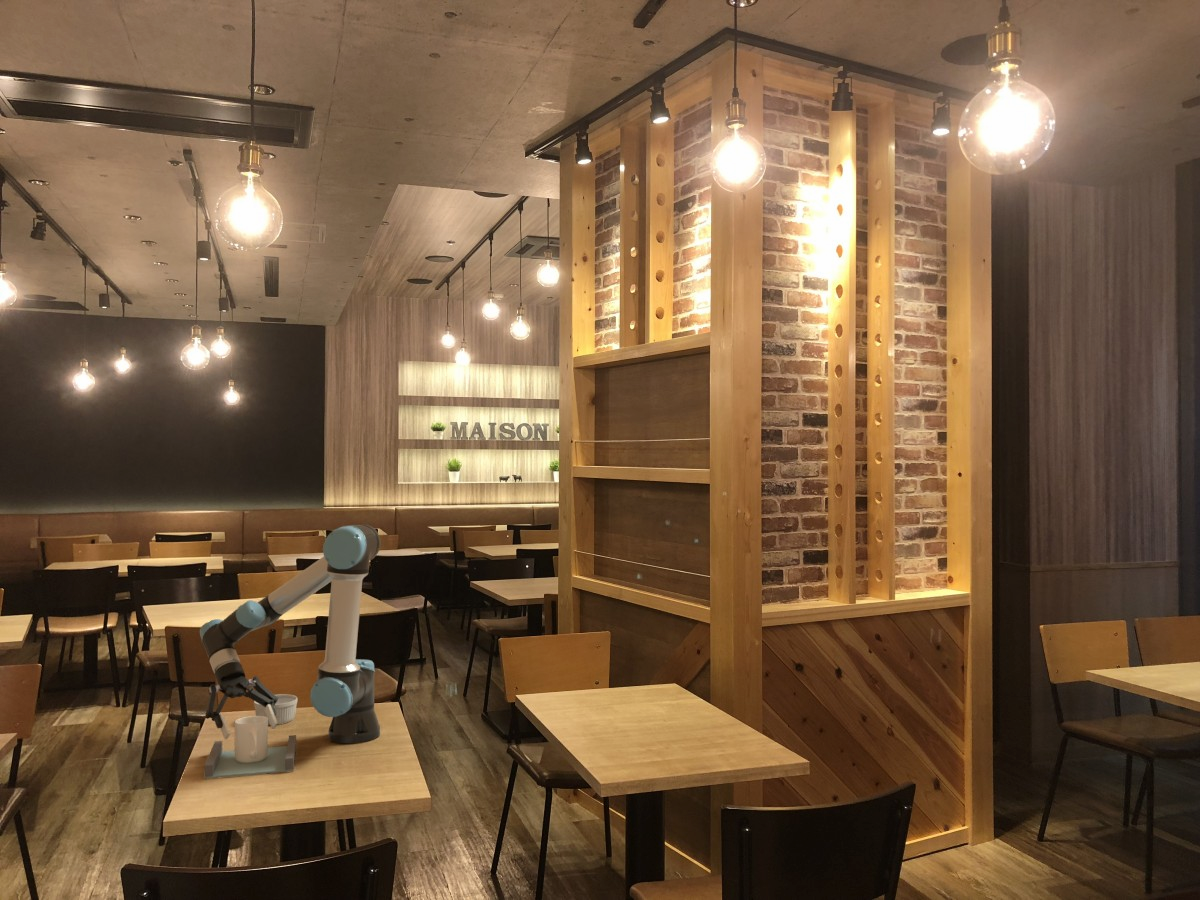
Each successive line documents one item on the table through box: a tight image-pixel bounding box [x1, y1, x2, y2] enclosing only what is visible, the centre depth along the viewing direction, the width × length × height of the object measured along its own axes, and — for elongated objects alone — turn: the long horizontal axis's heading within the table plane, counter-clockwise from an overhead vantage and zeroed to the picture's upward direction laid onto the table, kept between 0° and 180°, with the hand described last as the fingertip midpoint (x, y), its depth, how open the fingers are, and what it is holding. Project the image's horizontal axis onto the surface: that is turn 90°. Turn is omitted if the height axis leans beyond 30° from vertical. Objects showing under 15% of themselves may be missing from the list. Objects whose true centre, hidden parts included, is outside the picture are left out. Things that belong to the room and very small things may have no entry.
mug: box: [234, 715, 269, 763], centre depth 256 cm, size 9×12×11 cm
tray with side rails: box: [204, 734, 297, 780], centre depth 256 cm, size 22×22×4 cm
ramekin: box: [253, 693, 298, 726], centre depth 298 cm, size 13×13×7 cm
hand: (251, 731), depth 256 cm, fingers open, 13 cm apart
